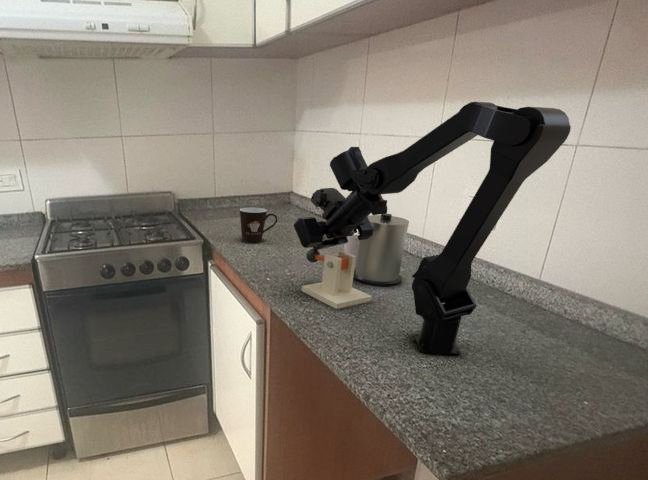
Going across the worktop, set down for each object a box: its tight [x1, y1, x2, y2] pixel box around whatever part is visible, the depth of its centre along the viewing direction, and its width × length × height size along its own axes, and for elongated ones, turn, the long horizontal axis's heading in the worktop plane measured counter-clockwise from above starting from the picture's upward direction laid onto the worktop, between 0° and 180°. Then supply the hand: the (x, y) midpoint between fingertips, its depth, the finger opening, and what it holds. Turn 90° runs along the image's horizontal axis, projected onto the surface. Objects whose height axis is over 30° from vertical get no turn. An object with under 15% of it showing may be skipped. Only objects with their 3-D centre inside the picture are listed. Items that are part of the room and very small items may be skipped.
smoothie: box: [343, 229, 360, 269], centre depth 117 cm, size 6×6×14 cm
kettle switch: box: [305, 248, 348, 270], centre depth 100 cm, size 12×3×3 cm, turn 29°
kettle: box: [353, 213, 410, 288], centre depth 107 cm, size 16×12×16 cm
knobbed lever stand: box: [300, 251, 373, 310], centre depth 97 cm, size 12×10×10 cm
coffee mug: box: [239, 207, 278, 244], centre depth 142 cm, size 12×9×10 cm
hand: (314, 248), depth 103 cm, fingers closed, pressing on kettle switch
